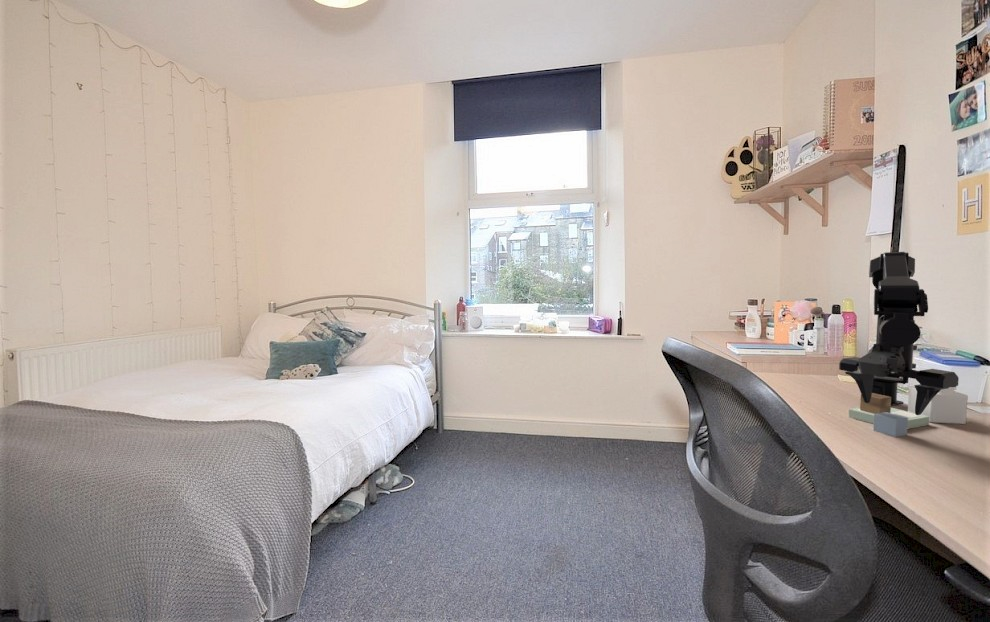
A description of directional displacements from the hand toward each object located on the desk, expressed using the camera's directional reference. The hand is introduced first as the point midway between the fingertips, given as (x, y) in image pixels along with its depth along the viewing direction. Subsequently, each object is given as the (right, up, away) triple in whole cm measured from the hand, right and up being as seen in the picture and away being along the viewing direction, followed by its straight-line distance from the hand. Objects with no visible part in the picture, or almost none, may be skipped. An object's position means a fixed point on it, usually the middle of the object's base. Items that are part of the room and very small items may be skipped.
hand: (891, 408), depth 91 cm
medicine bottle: (+19, -5, +9) cm, 22 cm away
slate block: (0, -6, 0) cm, 6 cm away
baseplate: (+7, -5, +8) cm, 11 cm away
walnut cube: (+4, -3, +8) cm, 10 cm away
